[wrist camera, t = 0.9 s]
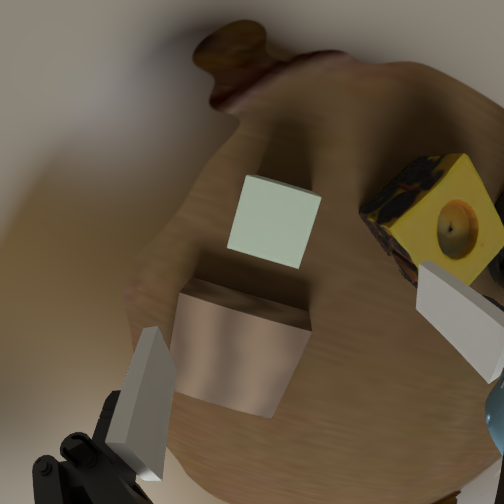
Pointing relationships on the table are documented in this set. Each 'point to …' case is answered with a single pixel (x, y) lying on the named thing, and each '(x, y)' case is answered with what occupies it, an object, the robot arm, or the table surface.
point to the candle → (437, 218)
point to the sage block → (273, 220)
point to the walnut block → (236, 347)
